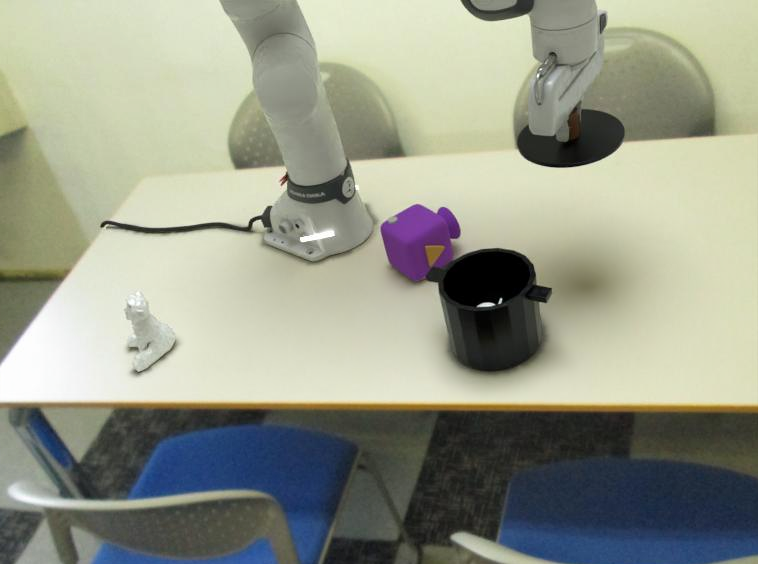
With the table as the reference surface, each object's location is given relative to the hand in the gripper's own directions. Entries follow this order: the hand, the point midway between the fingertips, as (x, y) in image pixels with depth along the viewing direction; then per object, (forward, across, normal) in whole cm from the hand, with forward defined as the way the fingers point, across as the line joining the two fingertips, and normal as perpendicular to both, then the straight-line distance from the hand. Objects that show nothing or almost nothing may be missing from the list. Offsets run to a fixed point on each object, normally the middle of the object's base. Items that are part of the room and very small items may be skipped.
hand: (569, 132), depth 118 cm
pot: (+26, -19, +6) cm, 33 cm away
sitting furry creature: (+27, -39, +64) cm, 80 cm away
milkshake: (+25, -20, +6) cm, 32 cm away
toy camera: (+26, -3, +27) cm, 38 cm away
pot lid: (+1, 0, 0) cm, 1 cm away
